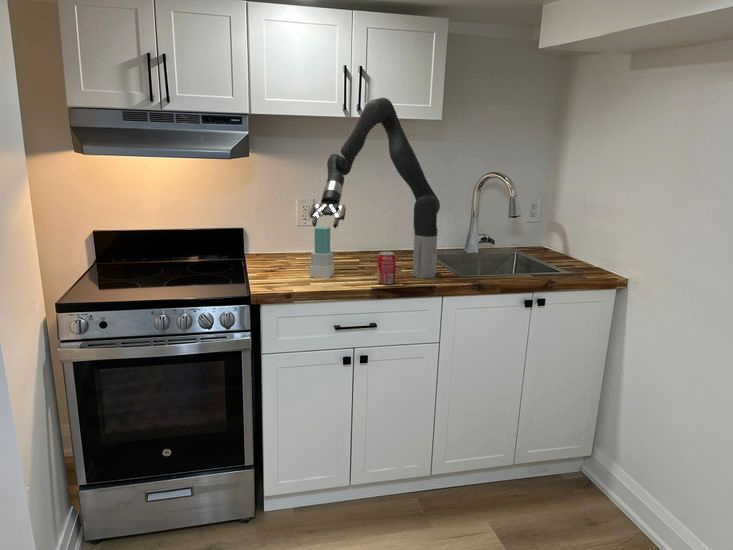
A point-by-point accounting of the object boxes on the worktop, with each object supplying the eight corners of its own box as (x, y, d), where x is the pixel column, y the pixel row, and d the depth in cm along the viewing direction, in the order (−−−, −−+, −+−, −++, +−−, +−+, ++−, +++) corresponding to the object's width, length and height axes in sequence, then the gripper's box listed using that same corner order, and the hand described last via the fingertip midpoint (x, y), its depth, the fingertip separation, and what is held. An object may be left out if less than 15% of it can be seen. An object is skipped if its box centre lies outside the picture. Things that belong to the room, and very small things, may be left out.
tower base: (333, 274, 226) (334, 262, 224) (328, 279, 218) (328, 267, 217) (315, 273, 227) (315, 261, 226) (309, 278, 220) (309, 266, 218)
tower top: (333, 263, 224) (333, 251, 223) (327, 267, 217) (327, 254, 216) (316, 261, 225) (316, 249, 224) (311, 265, 219) (311, 253, 218)
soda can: (384, 279, 219) (385, 250, 216) (398, 282, 215) (399, 253, 212) (373, 283, 214) (374, 253, 211) (387, 286, 209) (388, 255, 206)
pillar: (330, 251, 222) (330, 227, 220) (326, 253, 217) (326, 229, 215) (318, 250, 223) (318, 226, 221) (314, 253, 218) (314, 228, 216)
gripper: (313, 188, 226) (305, 219, 218) (347, 189, 223) (339, 221, 215) (317, 199, 233) (309, 230, 225) (350, 200, 230) (343, 232, 222)
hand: (324, 226), depth 220 cm, fingers open, 8 cm apart
